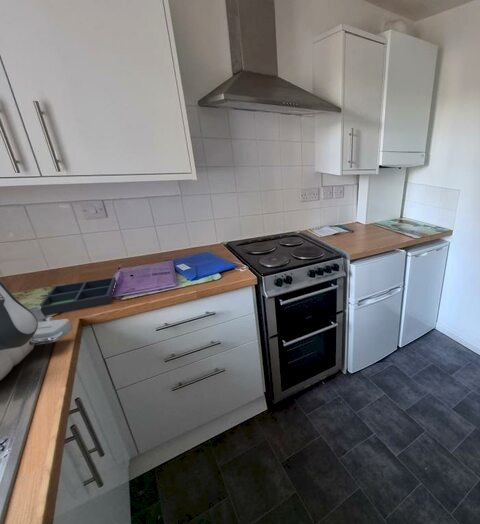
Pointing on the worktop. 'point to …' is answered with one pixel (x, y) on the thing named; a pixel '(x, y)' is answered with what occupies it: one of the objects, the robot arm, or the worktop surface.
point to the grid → (78, 296)
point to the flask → (37, 313)
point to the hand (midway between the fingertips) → (40, 319)
